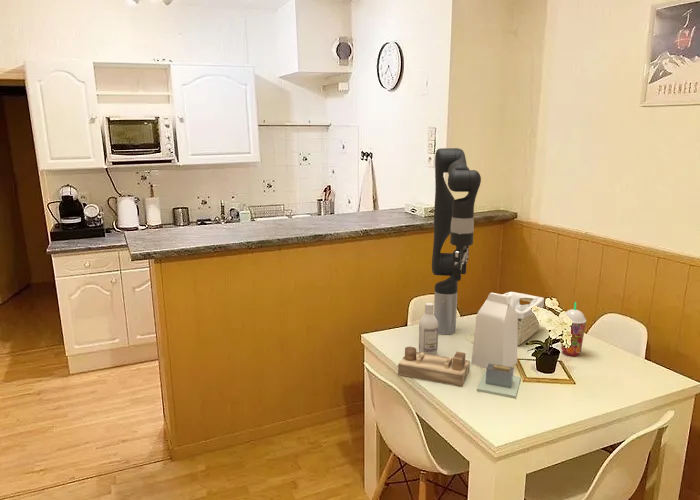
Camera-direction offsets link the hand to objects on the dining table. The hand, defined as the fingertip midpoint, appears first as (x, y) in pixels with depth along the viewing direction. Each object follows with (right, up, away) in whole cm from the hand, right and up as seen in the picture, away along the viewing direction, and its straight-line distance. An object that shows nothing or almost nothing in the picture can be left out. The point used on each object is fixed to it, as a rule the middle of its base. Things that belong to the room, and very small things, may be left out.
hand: (460, 277), depth 177 cm
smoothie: (+45, -30, +18) cm, 57 cm away
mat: (+12, -35, -6) cm, 38 cm away
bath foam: (-8, -30, +18) cm, 36 cm away
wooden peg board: (-9, -33, +3) cm, 35 cm away
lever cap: (+12, -34, -6) cm, 37 cm away
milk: (+14, -32, +10) cm, 36 cm away
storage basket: (+30, -26, +36) cm, 54 cm away
